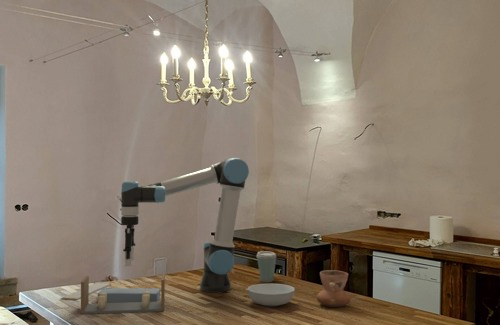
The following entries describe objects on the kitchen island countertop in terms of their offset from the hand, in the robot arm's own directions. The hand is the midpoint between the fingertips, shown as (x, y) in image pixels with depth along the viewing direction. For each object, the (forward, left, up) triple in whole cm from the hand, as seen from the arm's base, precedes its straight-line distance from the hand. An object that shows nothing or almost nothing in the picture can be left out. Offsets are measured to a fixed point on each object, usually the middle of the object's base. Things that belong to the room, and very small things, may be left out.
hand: (129, 263), depth 231 cm
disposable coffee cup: (-68, -30, -17) cm, 76 cm away
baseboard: (+22, -18, -17) cm, 33 cm away
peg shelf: (+1, +14, -16) cm, 22 cm away
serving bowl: (-62, +14, -17) cm, 66 cm away
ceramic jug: (-89, +19, -17) cm, 93 cm away
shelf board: (0, 0, -17) cm, 17 cm away
